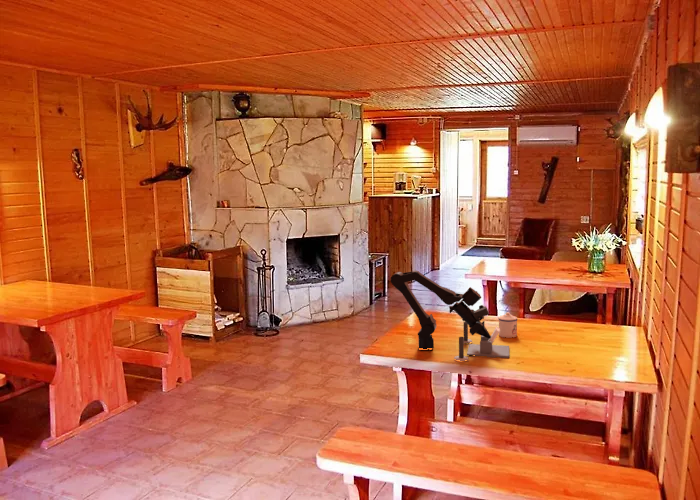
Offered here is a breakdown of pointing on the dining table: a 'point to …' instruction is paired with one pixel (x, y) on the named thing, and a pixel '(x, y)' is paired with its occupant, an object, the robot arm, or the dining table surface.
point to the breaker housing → (488, 349)
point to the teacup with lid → (508, 325)
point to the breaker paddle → (494, 334)
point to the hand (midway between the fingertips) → (490, 337)
